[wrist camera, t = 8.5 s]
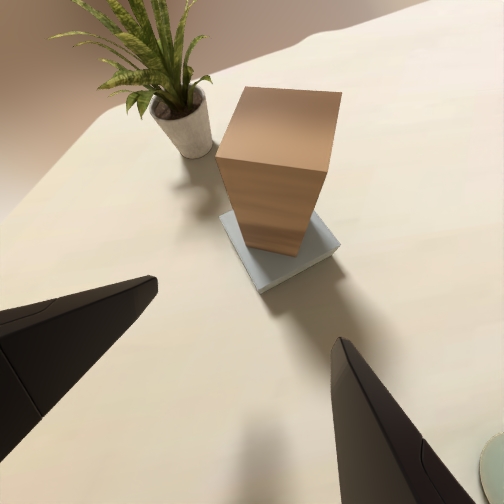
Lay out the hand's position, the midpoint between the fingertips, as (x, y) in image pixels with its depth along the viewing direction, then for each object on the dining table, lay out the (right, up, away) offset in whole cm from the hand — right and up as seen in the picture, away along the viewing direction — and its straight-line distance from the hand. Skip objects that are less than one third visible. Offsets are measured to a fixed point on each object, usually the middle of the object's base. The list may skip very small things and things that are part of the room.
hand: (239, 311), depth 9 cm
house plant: (-9, +20, +20) cm, 30 cm away
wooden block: (+3, +5, +10) cm, 12 cm away
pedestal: (+3, +4, +13) cm, 14 cm away
